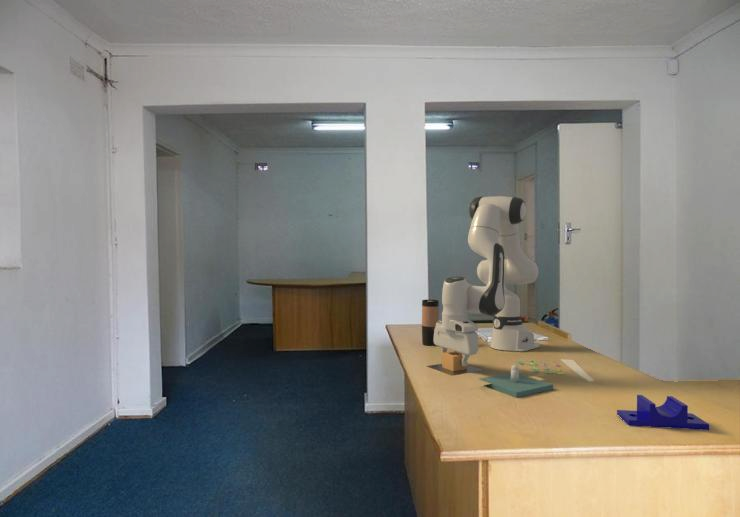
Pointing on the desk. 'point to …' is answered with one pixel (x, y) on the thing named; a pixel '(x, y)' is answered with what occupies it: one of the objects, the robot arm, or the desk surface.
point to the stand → (449, 372)
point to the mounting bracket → (662, 415)
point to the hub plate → (516, 383)
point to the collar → (452, 361)
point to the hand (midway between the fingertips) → (454, 362)
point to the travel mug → (429, 321)
